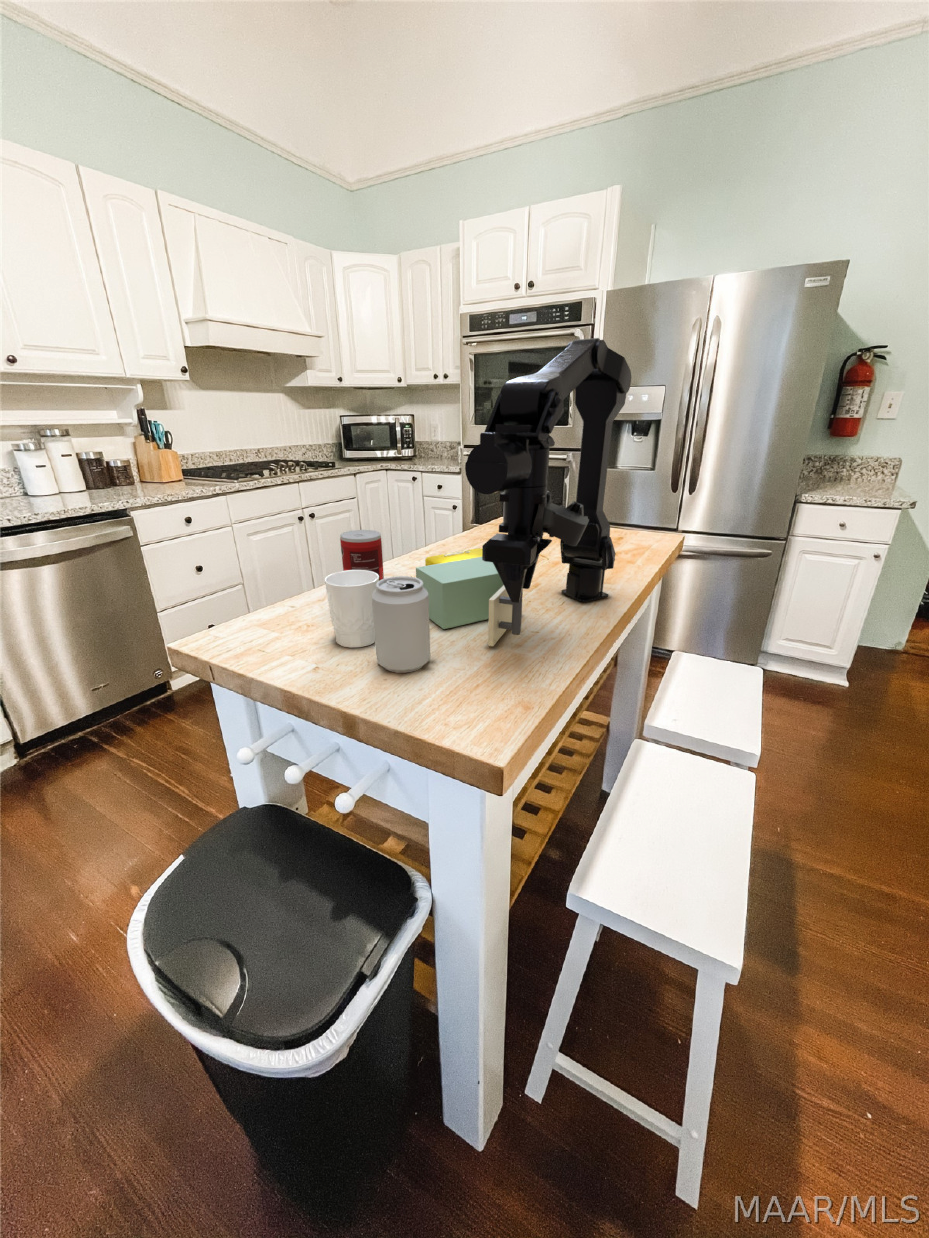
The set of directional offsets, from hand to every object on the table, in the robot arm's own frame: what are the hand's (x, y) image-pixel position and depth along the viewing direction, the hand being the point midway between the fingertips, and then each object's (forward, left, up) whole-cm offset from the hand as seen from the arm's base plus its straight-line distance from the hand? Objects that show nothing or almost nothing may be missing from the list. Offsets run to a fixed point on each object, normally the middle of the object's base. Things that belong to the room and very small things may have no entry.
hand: (520, 595), depth 72 cm
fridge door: (-2, -4, -8) cm, 9 cm away
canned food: (+11, -36, -8) cm, 39 cm away
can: (+17, -3, -8) cm, 19 cm away
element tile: (-10, -30, -8) cm, 33 cm away
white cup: (+20, -14, -8) cm, 26 cm away
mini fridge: (0, -15, -8) cm, 17 cm away
